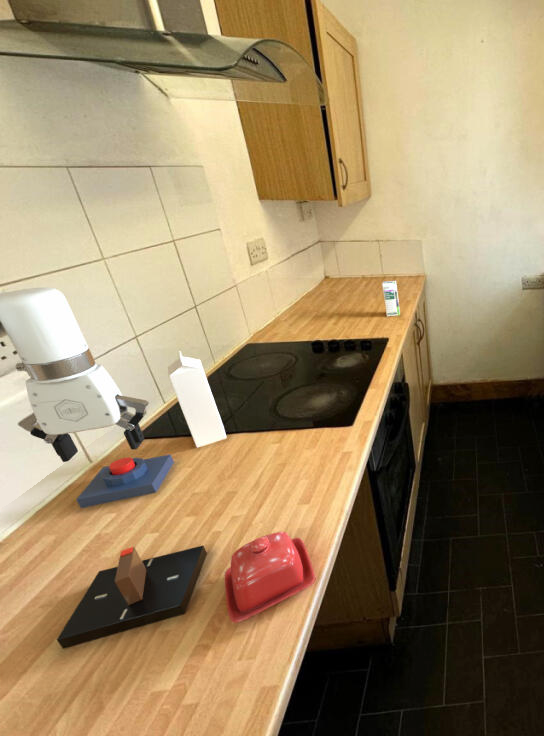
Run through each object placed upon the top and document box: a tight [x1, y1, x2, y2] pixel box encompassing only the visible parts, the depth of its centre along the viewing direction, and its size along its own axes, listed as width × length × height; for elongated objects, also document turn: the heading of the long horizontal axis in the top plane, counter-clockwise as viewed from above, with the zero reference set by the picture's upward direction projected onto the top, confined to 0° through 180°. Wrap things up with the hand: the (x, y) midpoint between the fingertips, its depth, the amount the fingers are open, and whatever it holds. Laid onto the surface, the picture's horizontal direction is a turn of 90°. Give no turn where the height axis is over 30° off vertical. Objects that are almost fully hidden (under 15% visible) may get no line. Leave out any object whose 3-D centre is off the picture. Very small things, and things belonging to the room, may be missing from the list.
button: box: [108, 456, 135, 475], centre depth 84 cm, size 4×4×2 cm
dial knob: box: [115, 546, 146, 605], centre depth 61 cm, size 6×2×5 cm, turn 34°
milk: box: [167, 350, 227, 449], centre depth 96 cm, size 6×6×22 cm
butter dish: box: [223, 531, 316, 624], centre depth 63 cm, size 12×12×8 cm
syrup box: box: [381, 280, 401, 318], centre depth 180 cm, size 6×6×14 cm
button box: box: [75, 454, 175, 509], centre depth 85 cm, size 12×10×4 cm
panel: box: [56, 545, 208, 650], centre depth 62 cm, size 14×11×2 cm
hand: (105, 451), depth 74 cm, fingers open, 9 cm apart
